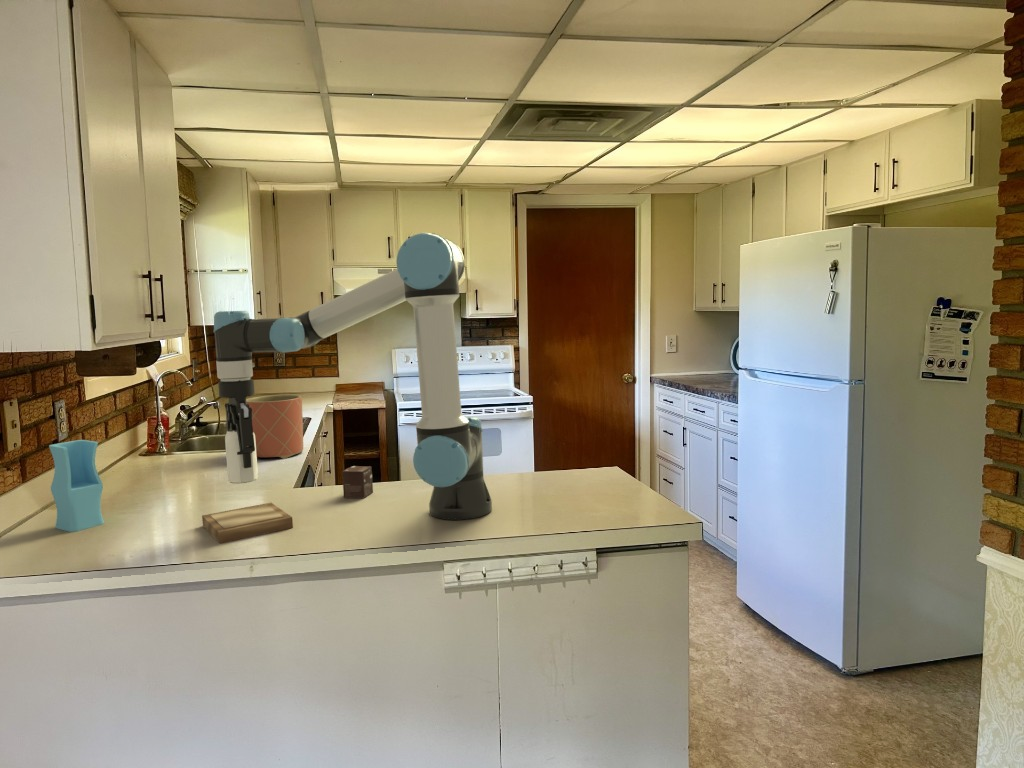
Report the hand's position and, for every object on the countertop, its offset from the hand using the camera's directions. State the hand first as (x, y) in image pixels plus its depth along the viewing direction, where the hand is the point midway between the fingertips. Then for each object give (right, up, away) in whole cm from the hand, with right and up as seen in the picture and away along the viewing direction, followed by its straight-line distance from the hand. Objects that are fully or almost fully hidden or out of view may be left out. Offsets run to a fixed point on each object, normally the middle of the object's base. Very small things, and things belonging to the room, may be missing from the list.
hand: (243, 478), depth 160 cm
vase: (-42, -12, +7) cm, 44 cm away
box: (+21, -8, +26) cm, 34 cm away
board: (0, -11, +1) cm, 12 cm away
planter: (-20, -3, +82) cm, 85 cm away
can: (0, -1, 0) cm, 1 cm away
